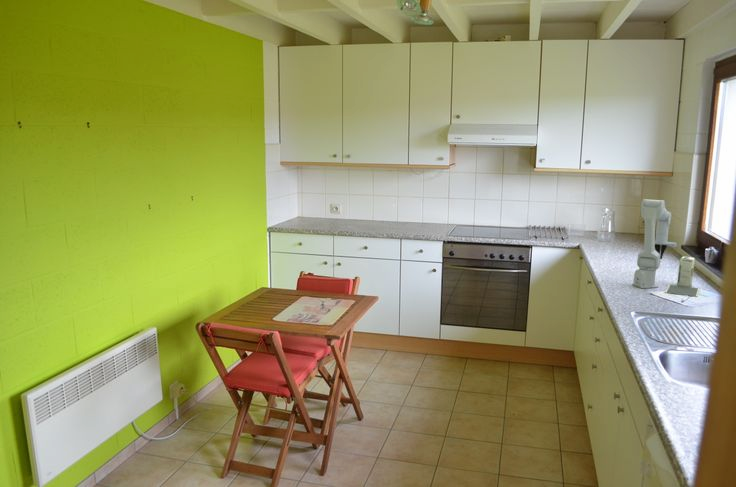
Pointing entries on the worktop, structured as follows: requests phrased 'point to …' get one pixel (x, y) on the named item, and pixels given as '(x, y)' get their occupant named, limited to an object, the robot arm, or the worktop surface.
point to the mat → (682, 290)
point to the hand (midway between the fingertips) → (659, 258)
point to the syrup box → (686, 271)
